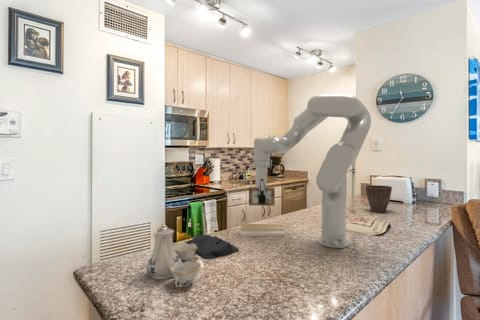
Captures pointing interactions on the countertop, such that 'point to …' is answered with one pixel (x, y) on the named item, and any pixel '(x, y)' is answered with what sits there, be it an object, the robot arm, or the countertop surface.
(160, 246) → the chinaware
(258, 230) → the ledge board
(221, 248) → the dark folded cloth
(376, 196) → the plant pot
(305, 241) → the countertop surface
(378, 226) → the grape print plaque
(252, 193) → the brown rectangular panel
